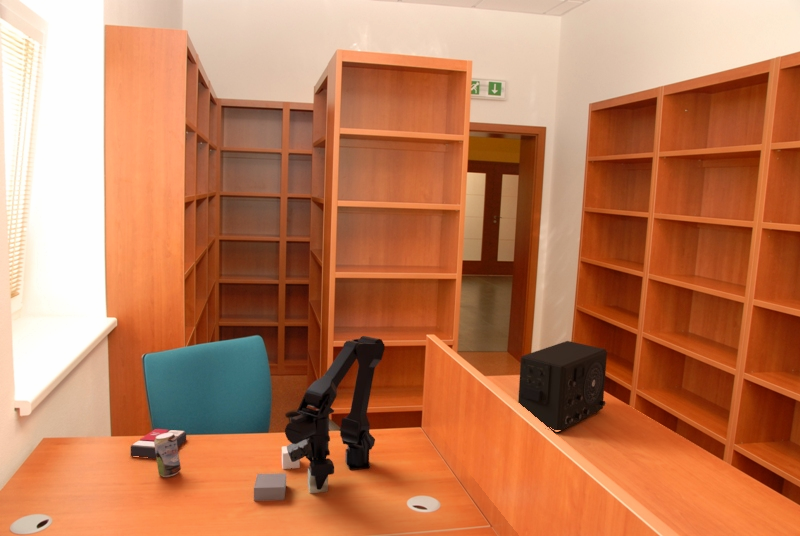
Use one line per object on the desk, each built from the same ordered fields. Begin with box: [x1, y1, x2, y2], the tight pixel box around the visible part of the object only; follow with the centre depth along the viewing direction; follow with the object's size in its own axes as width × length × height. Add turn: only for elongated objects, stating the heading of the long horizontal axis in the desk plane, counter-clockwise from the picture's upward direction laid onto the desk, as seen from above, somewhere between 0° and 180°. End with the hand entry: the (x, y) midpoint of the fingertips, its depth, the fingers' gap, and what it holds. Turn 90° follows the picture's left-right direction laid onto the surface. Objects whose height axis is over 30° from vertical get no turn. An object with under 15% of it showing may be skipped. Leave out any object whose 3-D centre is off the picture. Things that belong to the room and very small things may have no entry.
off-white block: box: [281, 445, 301, 470], centre depth 185 cm, size 5×5×5 cm
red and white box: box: [130, 428, 187, 459], centre depth 194 cm, size 11×4×15 cm
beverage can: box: [154, 432, 182, 478], centre depth 176 cm, size 6×7×12 cm
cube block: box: [307, 467, 329, 494], centre depth 171 cm, size 5×5×5 cm
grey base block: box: [253, 472, 287, 502], centre depth 168 cm, size 8×8×4 cm
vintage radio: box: [517, 340, 608, 431], centre depth 229 cm, size 38×20×25 cm, turn 137°
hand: (317, 484), depth 171 cm, fingers closed on cube block, 5 cm apart
